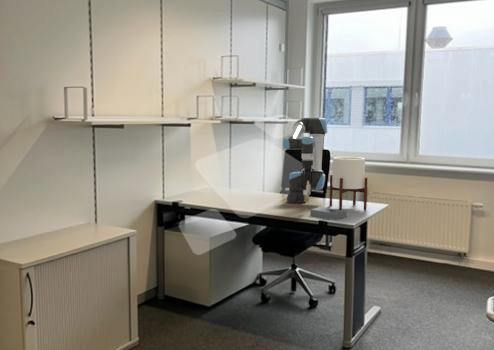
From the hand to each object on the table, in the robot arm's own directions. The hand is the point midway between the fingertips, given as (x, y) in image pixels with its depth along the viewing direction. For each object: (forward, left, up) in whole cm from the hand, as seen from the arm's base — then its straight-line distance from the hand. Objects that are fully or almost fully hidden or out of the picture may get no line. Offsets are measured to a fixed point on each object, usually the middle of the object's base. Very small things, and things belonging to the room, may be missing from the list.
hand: (306, 194), depth 328 cm
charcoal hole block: (+17, 0, -13) cm, 21 cm away
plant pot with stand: (+12, +35, -13) cm, 39 cm away
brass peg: (0, 0, -5) cm, 5 cm away
